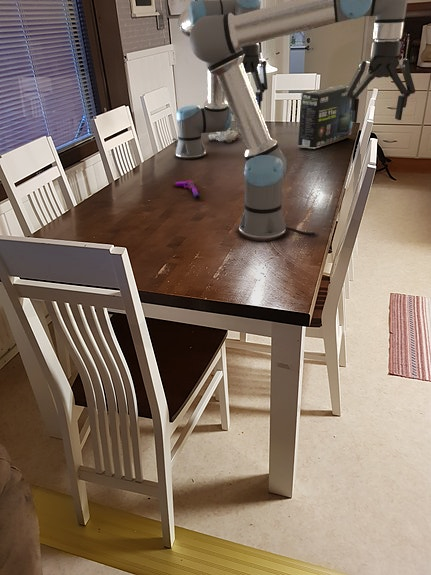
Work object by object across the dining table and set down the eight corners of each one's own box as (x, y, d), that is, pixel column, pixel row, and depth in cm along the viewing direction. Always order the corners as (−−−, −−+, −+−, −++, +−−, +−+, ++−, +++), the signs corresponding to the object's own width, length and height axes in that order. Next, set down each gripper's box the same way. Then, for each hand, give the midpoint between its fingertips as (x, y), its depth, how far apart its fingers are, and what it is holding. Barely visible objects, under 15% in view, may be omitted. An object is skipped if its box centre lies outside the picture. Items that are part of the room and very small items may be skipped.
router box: (314, 151, 231) (318, 94, 217) (296, 148, 237) (299, 92, 224) (352, 138, 251) (358, 85, 238) (335, 135, 258) (340, 83, 245)
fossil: (231, 137, 247) (212, 119, 250) (221, 153, 253) (203, 136, 256) (247, 135, 260) (230, 119, 264) (237, 151, 267) (220, 135, 270)
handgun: (174, 185, 194) (174, 180, 193) (192, 183, 195) (192, 178, 194) (181, 201, 176) (180, 197, 175) (200, 199, 177) (200, 194, 176)
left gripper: (227, 45, 154) (228, 117, 166) (279, 42, 161) (277, 110, 173) (217, 44, 160) (219, 113, 171) (268, 41, 167) (266, 107, 179)
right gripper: (424, 37, 131) (410, 115, 142) (338, 41, 129) (331, 120, 140) (437, 39, 124) (422, 120, 135) (347, 43, 123) (339, 125, 134)
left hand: (248, 112), depth 172 cm, fingers closed on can, 8 cm apart
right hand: (375, 120), depth 138 cm, fingers open, 13 cm apart
